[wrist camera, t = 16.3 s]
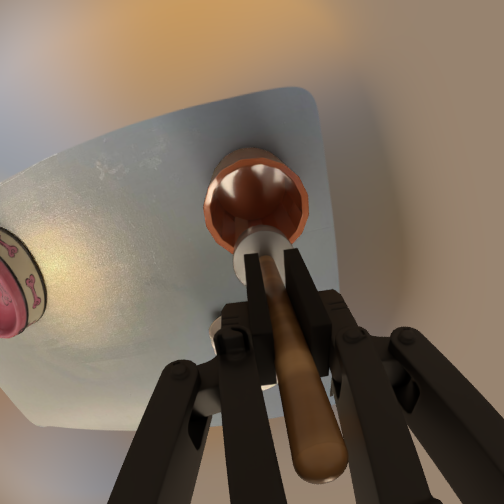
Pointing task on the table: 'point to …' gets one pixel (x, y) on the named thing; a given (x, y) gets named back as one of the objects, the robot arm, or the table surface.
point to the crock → (254, 197)
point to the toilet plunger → (294, 365)
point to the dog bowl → (18, 287)
